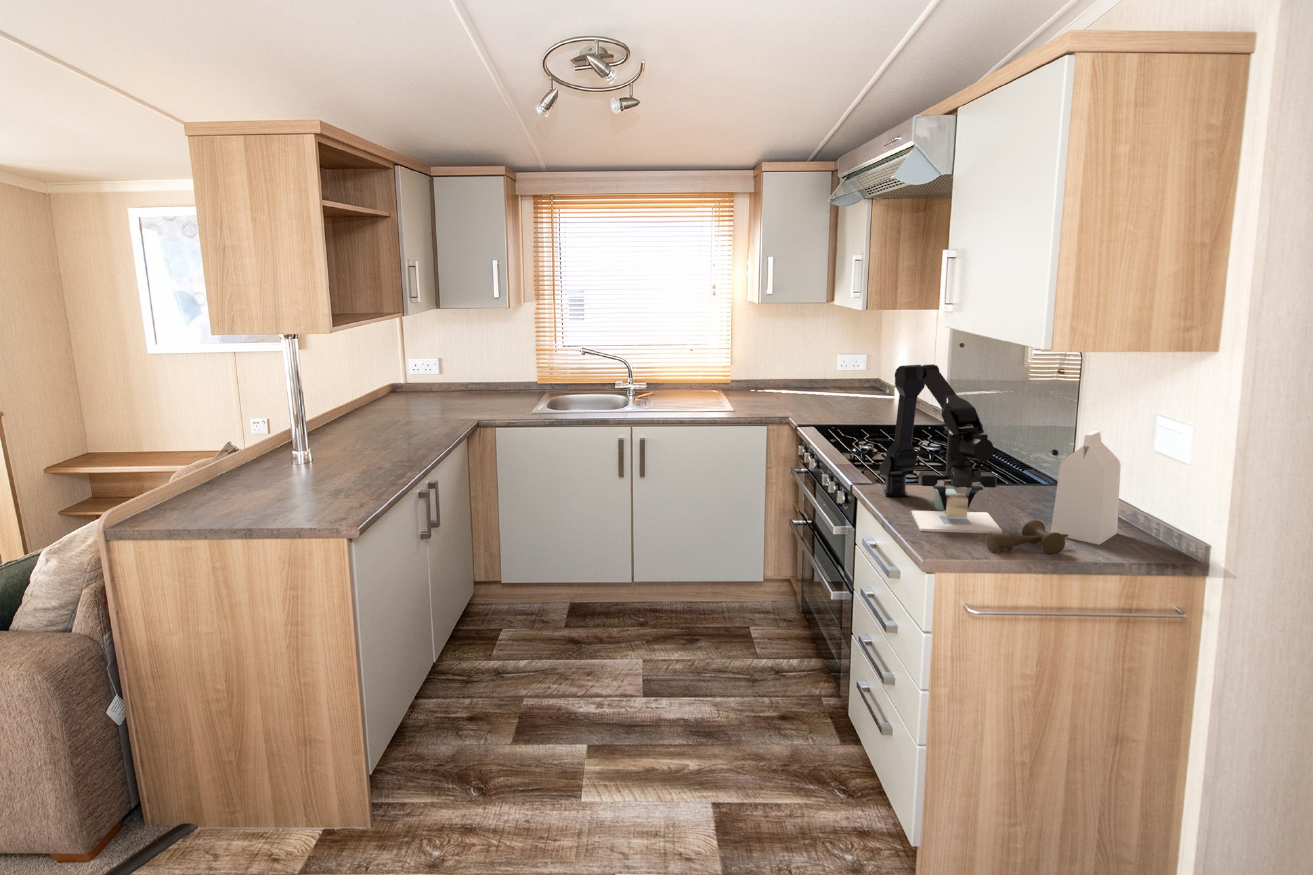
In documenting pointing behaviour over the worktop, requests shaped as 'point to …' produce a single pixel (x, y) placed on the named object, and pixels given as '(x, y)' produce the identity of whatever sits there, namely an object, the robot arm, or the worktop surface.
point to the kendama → (1027, 538)
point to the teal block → (938, 501)
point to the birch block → (956, 505)
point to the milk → (1088, 493)
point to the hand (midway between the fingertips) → (955, 510)
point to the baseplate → (955, 522)
